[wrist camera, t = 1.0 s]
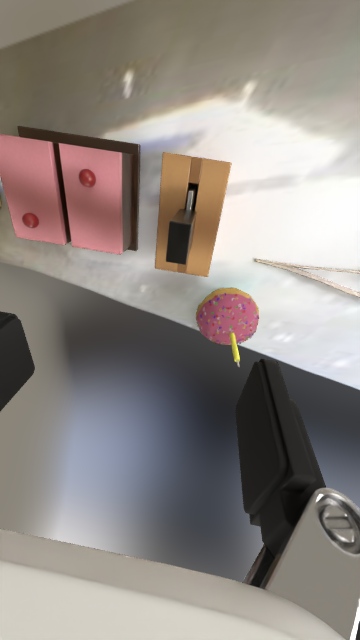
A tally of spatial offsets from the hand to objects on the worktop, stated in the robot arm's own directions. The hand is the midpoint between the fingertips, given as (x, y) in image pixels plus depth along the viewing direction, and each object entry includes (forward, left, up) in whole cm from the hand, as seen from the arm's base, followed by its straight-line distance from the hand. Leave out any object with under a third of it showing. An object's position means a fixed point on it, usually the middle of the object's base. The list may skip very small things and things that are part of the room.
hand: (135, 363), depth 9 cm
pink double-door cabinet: (-2, -14, -26) cm, 29 cm away
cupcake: (+10, +7, -26) cm, 29 cm away
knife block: (-2, 0, -26) cm, 26 cm away
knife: (-2, 0, -25) cm, 25 cm away
